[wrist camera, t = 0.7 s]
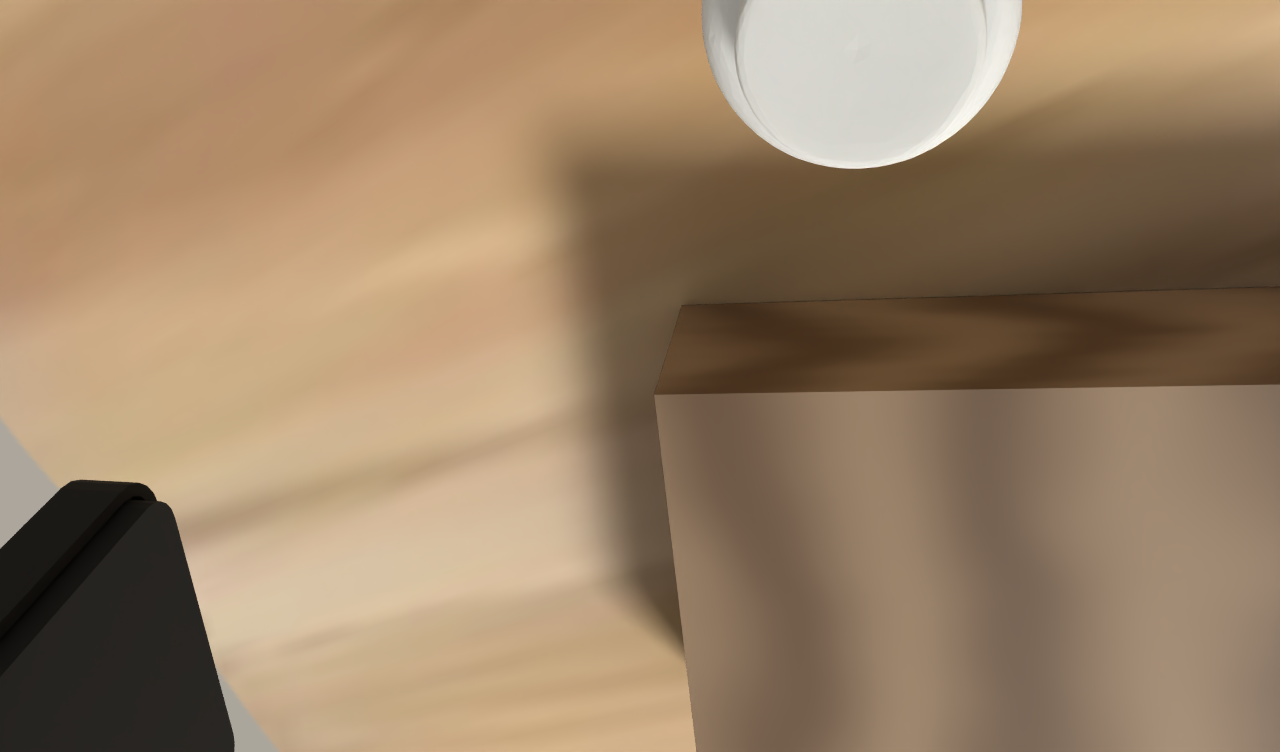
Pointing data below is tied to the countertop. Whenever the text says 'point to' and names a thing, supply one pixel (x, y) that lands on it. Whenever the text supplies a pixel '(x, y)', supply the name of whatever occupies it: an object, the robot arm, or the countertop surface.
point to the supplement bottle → (858, 71)
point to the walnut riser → (978, 522)
